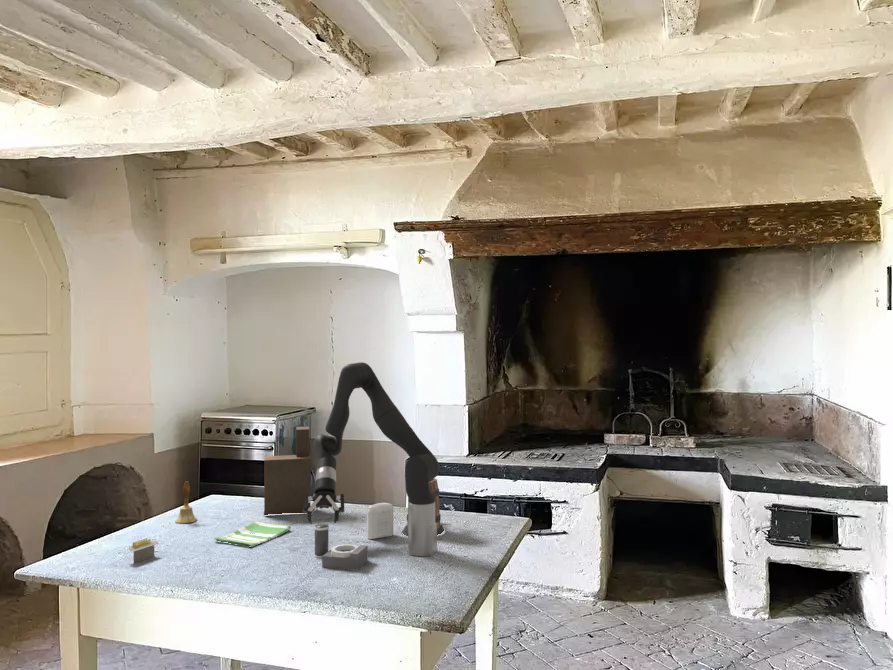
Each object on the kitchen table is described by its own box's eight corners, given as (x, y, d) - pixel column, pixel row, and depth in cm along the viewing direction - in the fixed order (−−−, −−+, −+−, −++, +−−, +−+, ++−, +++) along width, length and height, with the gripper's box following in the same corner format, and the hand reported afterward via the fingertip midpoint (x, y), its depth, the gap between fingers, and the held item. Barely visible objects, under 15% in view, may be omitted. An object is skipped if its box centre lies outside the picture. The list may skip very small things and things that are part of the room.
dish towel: (212, 543, 235) (212, 535, 235) (256, 527, 256) (256, 520, 256) (251, 549, 228) (251, 541, 228) (293, 532, 249) (293, 525, 249)
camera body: (367, 560, 214) (367, 545, 214) (357, 570, 205) (357, 554, 205) (333, 558, 217) (333, 543, 217) (322, 567, 208) (322, 551, 208)
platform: (105, 565, 211) (105, 545, 212) (152, 550, 228) (152, 531, 228) (130, 571, 206) (131, 550, 206) (177, 554, 222) (177, 535, 222)
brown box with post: (310, 505, 288) (310, 426, 289) (310, 513, 274) (310, 430, 275) (265, 508, 284) (265, 427, 284) (263, 516, 270) (263, 432, 270)
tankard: (439, 540, 237) (439, 484, 237) (395, 536, 241) (395, 482, 241) (454, 522, 260) (454, 472, 260) (413, 520, 264) (413, 470, 264)
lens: (331, 553, 221) (331, 524, 221) (325, 558, 217) (325, 528, 217) (318, 552, 222) (318, 523, 223) (311, 557, 218) (311, 527, 218)
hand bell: (176, 519, 266) (176, 480, 267) (197, 517, 269) (197, 478, 269) (174, 524, 259) (174, 484, 259) (196, 522, 261) (196, 482, 261)
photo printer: (389, 533, 246) (389, 500, 246) (395, 536, 242) (395, 502, 242) (365, 537, 240) (365, 504, 240) (370, 540, 236) (370, 506, 236)
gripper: (304, 476, 233) (301, 517, 221) (345, 475, 235) (343, 516, 223) (306, 488, 238) (302, 528, 227) (345, 487, 240) (344, 527, 228)
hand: (322, 522), depth 225 cm, fingers open, 8 cm apart
